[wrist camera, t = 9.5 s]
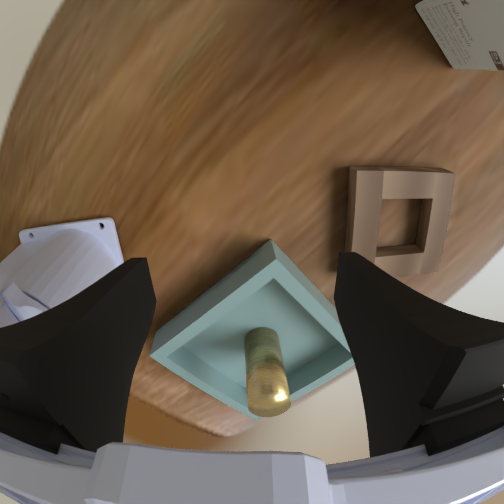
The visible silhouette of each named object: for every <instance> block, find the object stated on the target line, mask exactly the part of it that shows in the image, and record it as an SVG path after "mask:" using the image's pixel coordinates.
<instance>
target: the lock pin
mask: <svg viewBox="0 0 504 504" xmlns="http://www.w3.org/2000/svg"><path fill="white" fill-rule="evenodd" d="M244 350H245V368H246V385H247V401H248V410H249V411H250V412H251V413H252V414H254V415H256V416H260V417H272V416H277V415H280V414H282V413H284V412H286V411H287V410H288V409H289V408H290V406H291V400H290V395H289V389H288V384H287V378H286V373H285V367H284V362H283V356H282V351H281V346H280V340H279V336H278V334H277V332H276V331H275V330H273V329H271V328H267V327H258V328H255V329H252V330H251V331H249V332H248V333H247V334H246V336H245V338H244Z"/></svg>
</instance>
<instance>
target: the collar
mask: <svg viewBox="0 0 504 504" xmlns="http://www.w3.org/2000/svg"><path fill="white" fill-rule="evenodd" d="M454 180H455V173H453V172H451V171H448V170H446V169H440V168H422V167H396V166H349V186H348V207H347V223H346V237H345V250H344V252H356V253H358V254H360V255H361V256H363V257H364V258H366V259H367V260H369V261H370V262H372V263H373V264H375V265H376V266H378V267H379V268H380V269H382V270H383V271H385V272H386V273H388V274H389V275H391V276H392V277H402V276H410V275H418V274H425V273H432V272H438V268H439V264H440V260H441V255H442V251H443V246H444V241H445V237H446V231H447V226H448V221H449V215H450V209H451V202H452V195H453V188H454ZM382 199H422V203H421V210H420V218H419V224H418V231H417V237H416V243H415V244H414V245H402V246H390V247H378V248H377V241H378V233H379V224H380V215H381V204H382Z"/></svg>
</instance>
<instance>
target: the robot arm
mask: <svg viewBox="0 0 504 504" xmlns="http://www.w3.org/2000/svg"><path fill="white" fill-rule="evenodd" d="M100 223H102V224H103V225H104V227H101V226H100ZM31 233H32V234H33V236H32V235H31ZM19 238H20V241H21V244H20V245H19V246H18V247H17V248H16V249H15V250H14V251H13V252H11V253H10V254H9V255H8V256H7V257H6V258H5V259H4V260H3V261H2V262H0V492H1V493H3V494H4V495H6V496H8V497H10V498H11V499H13V500H15V501H17V502H19V503H20V504H479V503H481V502H483V501H485V500H486V499H488V498H490V497H492V496H493V495H495V494H497V493H498V492H500V491H502V490H504V401H503V399H502V398H504V388H503V386H502V385H503V384H504V323H503V322H498V321H493V320H489V319H484V318H480V317H477V316H474V315H470V314H467V313H464V312H461V311H458V310H456V309H453V308H451V307H448V306H446V305H443V304H441V303H439V302H437V301H434V300H432V299H430V298H428V297H426V296H424V295H422V294H420V293H419V292H417V291H415V290H413V289H411V288H410V287H408V286H407V285H405V284H403V283H402V282H400V281H398V280H397V279H395V278H394V277H392V276H391V275H389V274H388V273H386V272H385V271H383V270H382V269H380V268H379V267H378V266H376V265H375V264H373V263H372V262H370V261H369V260H367V259H366V258H364V257H363V256H361V255H360V254H358V253H356V252H340V253H339V262H338V270H337V278H336V285H335V292H334V301H335V306H336V311H337V315H338V319H339V322H340V325H341V327H342V330H343V333H344V336H345V338H346V341H347V344H348V347H349V349H350V352H351V355H352V358H353V360H354V363H355V366H356V370H357V373H358V377H359V382H360V387H361V392H362V396H363V403H364V409H365V415H366V422H367V430H368V438H369V450H370V458H366V459H360V460H355V461H349V462H343V463H336V464H329V465H325V463H324V461H323V460H321V459H319V458H317V457H314V456H310V455H307V454H304V453H301V452H282V451H252V452H251V451H250V452H234V451H231V452H230V451H204V450H188V449H176V448H167V447H157V446H150V445H143V444H137V443H123V434H124V425H125V416H126V409H127V403H128V397H129V392H130V387H131V383H132V378H133V374H134V371H135V367H136V365H137V362H138V359H139V356H140V354H141V351H142V348H143V345H144V343H145V340H146V337H147V335H148V332H149V329H150V326H151V324H152V320H153V315H154V311H155V306H156V298H155V293H154V289H153V285H152V280H151V276H150V272H149V267H148V262H147V258H131V259H129V260H127V261H125V262H124V260H123V256H122V252H121V248H120V244H119V240H118V236H117V231H116V227H115V223H114V220H113V219H112V218H110V217H105V218H97V219H90V220H83V221H76V222H69V223H62V224H55V225H49V226H42V227H36V228H30V229H24V230H22V231H20V233H19Z"/></svg>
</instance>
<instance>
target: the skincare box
mask: <svg viewBox="0 0 504 504" xmlns="http://www.w3.org/2000/svg"><path fill="white" fill-rule="evenodd" d="M415 8H416V10H417V12H418V13H419V15H420V16H421V18H422V19H423V21H424V23H425V24H426V26H427V27H428V29H429V30H430V32H431V34H432V35H433V37H434V38H435V40H436V42H437V43H438V45H439V47H440V48H441V50H442V51H443V53H444V55H445V56H446V58H447V60H448V61H449V63H450V64H451V66H452V67H453V68H454V69H457V70H459V69H470V70H497V71H504V0H423V1H421V2H419V3H418V4H416V5H415Z"/></svg>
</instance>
